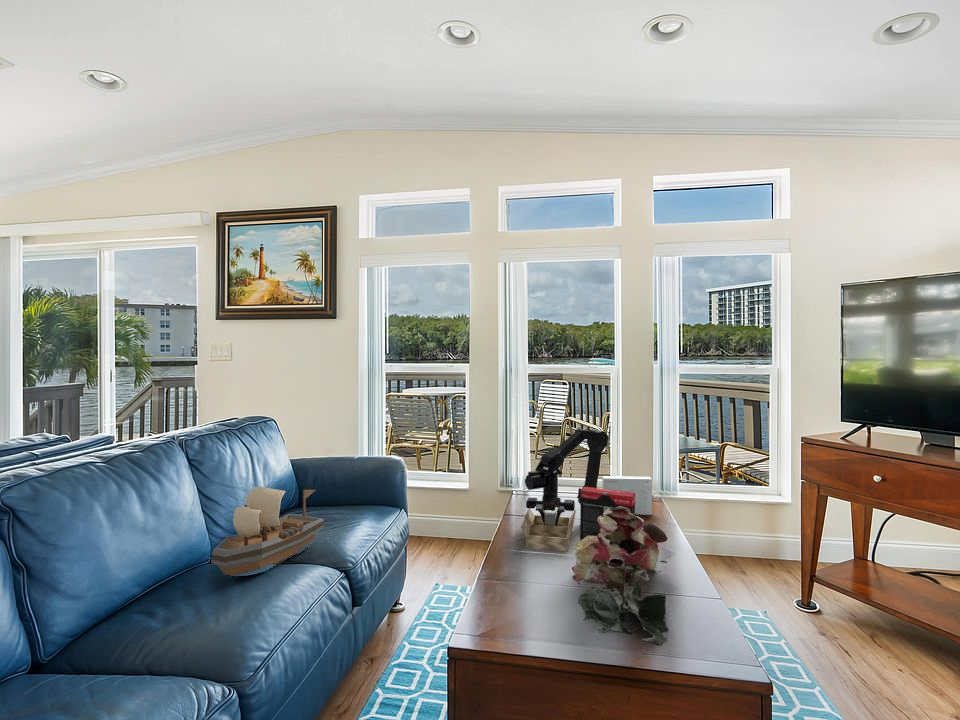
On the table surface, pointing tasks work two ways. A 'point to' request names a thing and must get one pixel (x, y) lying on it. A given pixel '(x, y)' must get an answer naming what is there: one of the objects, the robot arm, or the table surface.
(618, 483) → the skincare box
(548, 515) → the box
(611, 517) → the rose bouquet
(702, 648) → the table surface
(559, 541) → the wooden cubby shelf
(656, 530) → the decorative mushroom
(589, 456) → the robot arm
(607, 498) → the graphics card box
